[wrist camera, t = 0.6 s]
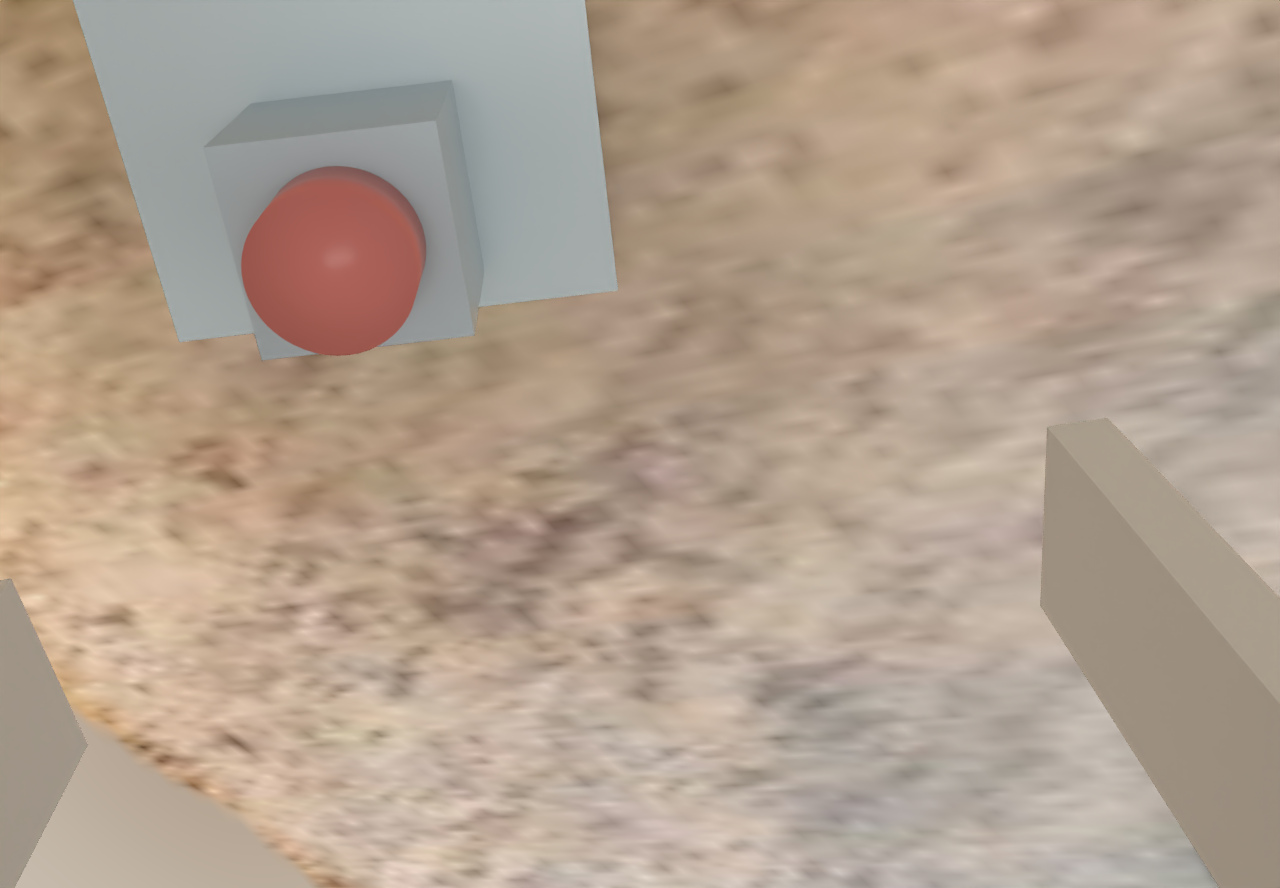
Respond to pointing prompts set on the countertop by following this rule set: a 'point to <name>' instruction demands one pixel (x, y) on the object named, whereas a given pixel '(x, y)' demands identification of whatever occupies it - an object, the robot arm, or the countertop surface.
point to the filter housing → (360, 141)
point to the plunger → (335, 261)
